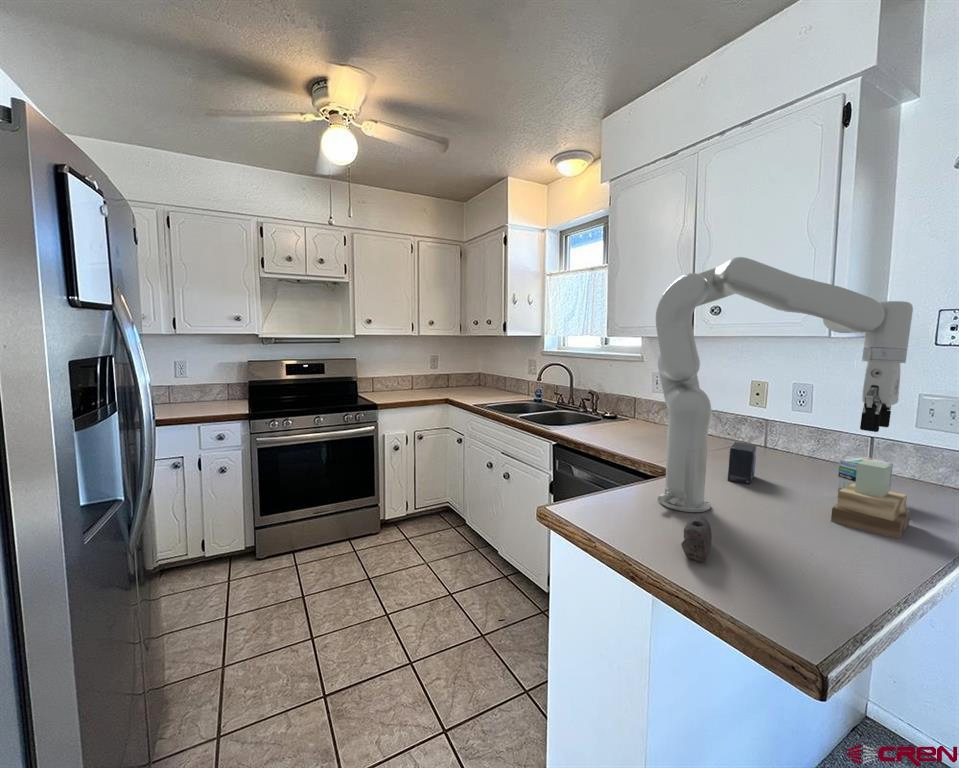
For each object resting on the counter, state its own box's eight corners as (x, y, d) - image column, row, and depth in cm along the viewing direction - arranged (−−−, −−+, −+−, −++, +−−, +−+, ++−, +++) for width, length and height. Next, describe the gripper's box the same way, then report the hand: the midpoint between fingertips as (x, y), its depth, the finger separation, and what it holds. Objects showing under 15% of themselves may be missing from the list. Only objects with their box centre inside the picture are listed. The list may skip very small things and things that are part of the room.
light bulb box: (861, 505, 116) (865, 466, 115) (834, 497, 123) (838, 459, 122) (890, 501, 119) (894, 462, 118) (863, 493, 126) (866, 456, 125)
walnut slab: (898, 541, 97) (900, 524, 97) (830, 523, 107) (832, 507, 106) (908, 526, 105) (910, 510, 104) (844, 511, 114) (845, 496, 114)
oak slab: (892, 521, 99) (893, 503, 98) (837, 506, 107) (838, 490, 106) (905, 511, 104) (906, 494, 104) (851, 498, 112) (853, 483, 112)
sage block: (882, 497, 102) (885, 468, 101) (854, 491, 106) (857, 463, 105) (888, 493, 104) (891, 464, 104) (861, 487, 109) (864, 459, 108)
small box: (751, 485, 133) (753, 451, 132) (726, 480, 137) (728, 447, 136) (755, 476, 141) (757, 444, 140) (732, 472, 145) (734, 441, 144)
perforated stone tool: (688, 534, 100) (690, 504, 99) (714, 540, 97) (716, 509, 96) (677, 562, 87) (679, 529, 87) (707, 570, 85) (709, 535, 84)
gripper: (897, 357, 94) (887, 436, 96) (914, 356, 104) (904, 427, 106) (852, 355, 100) (843, 429, 102) (872, 354, 110) (863, 422, 112)
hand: (874, 428), depth 104 cm, fingers open, 9 cm apart
